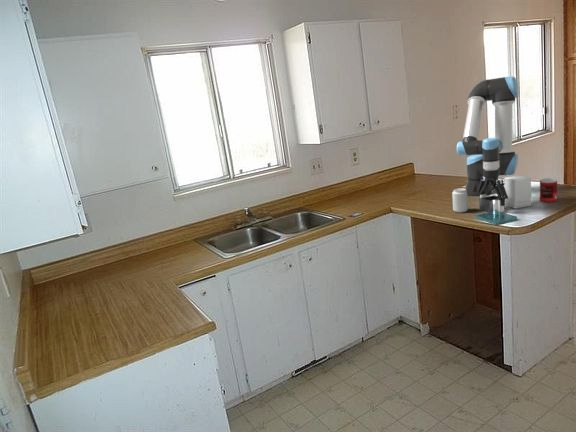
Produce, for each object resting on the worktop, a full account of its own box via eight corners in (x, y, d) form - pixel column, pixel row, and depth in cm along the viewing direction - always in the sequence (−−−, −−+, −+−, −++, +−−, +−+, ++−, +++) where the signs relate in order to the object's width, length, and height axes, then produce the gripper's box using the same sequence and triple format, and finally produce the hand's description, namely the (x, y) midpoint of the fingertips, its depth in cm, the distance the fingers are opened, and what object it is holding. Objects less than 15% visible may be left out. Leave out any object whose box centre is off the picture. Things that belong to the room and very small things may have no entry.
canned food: (552, 197, 225) (552, 177, 222) (560, 201, 217) (560, 180, 215) (536, 199, 226) (537, 179, 223) (544, 203, 218) (544, 182, 216)
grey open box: (479, 209, 225) (479, 198, 223) (494, 206, 226) (494, 195, 225) (489, 212, 217) (489, 201, 216) (505, 209, 219) (504, 197, 217)
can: (450, 210, 230) (449, 189, 227) (464, 208, 231) (463, 186, 228) (457, 213, 223) (456, 191, 220) (470, 211, 223) (470, 189, 220)
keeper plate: (475, 218, 212) (475, 199, 210) (496, 213, 215) (496, 195, 212) (495, 224, 199) (494, 205, 197) (517, 219, 201) (517, 200, 199)
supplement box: (531, 206, 217) (531, 177, 213) (514, 209, 217) (514, 180, 213) (520, 202, 226) (520, 174, 222) (504, 205, 226) (503, 177, 222)
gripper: (469, 167, 227) (470, 205, 233) (502, 173, 204) (502, 215, 209) (481, 165, 229) (482, 203, 234) (515, 170, 205) (516, 212, 211)
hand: (492, 209), depth 222 cm, fingers open, 13 cm apart
